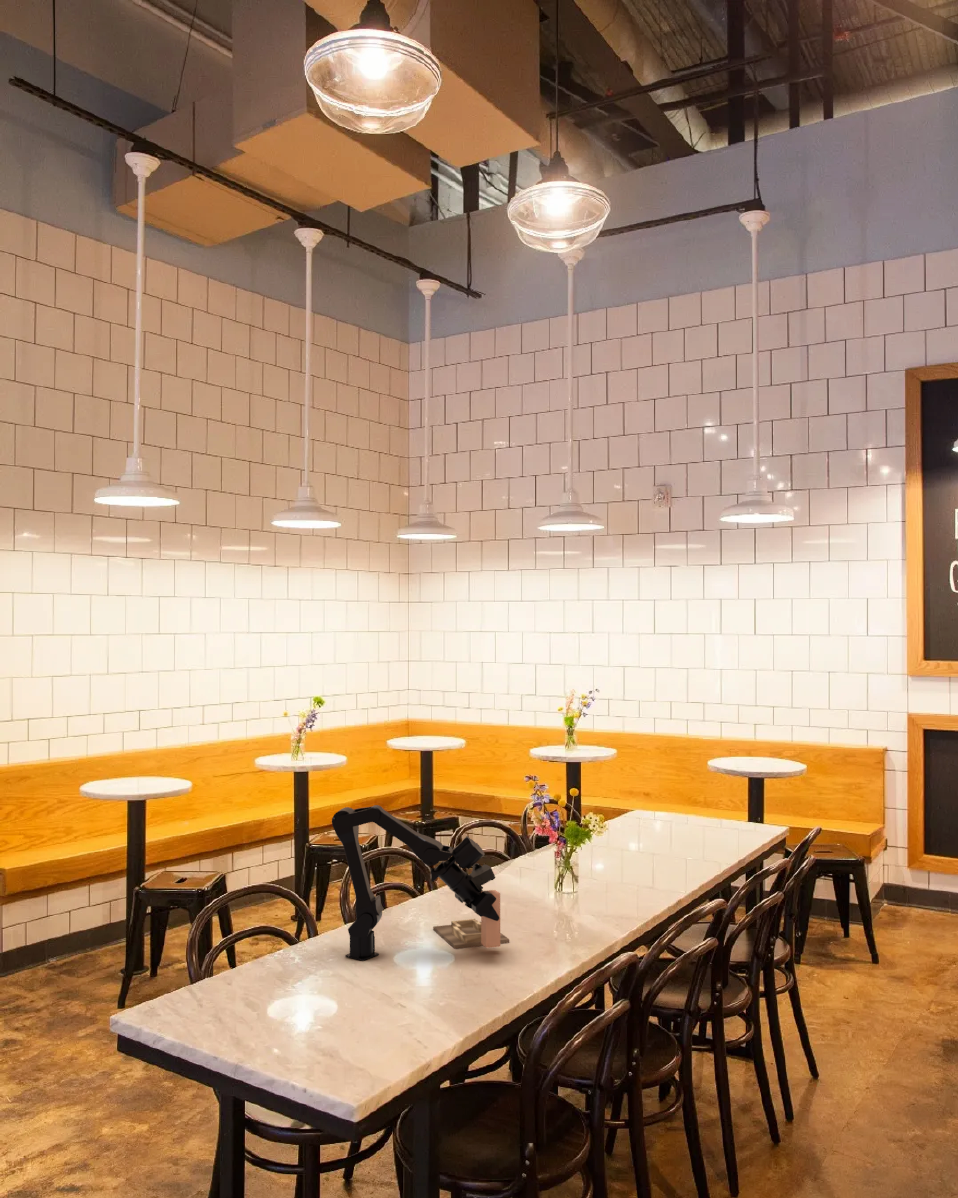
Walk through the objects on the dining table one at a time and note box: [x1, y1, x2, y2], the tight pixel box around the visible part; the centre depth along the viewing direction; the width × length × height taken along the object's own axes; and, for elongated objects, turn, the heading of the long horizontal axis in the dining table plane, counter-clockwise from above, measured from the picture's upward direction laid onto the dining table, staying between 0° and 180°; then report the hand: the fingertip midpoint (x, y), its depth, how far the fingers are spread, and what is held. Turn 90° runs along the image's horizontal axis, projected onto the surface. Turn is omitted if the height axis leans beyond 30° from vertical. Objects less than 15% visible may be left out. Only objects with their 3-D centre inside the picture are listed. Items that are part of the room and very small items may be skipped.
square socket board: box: [432, 918, 510, 950], centre depth 286 cm, size 20×16×3 cm
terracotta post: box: [480, 889, 501, 949], centre depth 270 cm, size 4×4×14 cm
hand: (495, 917), depth 271 cm, fingers closed on terracotta post, 4 cm apart
